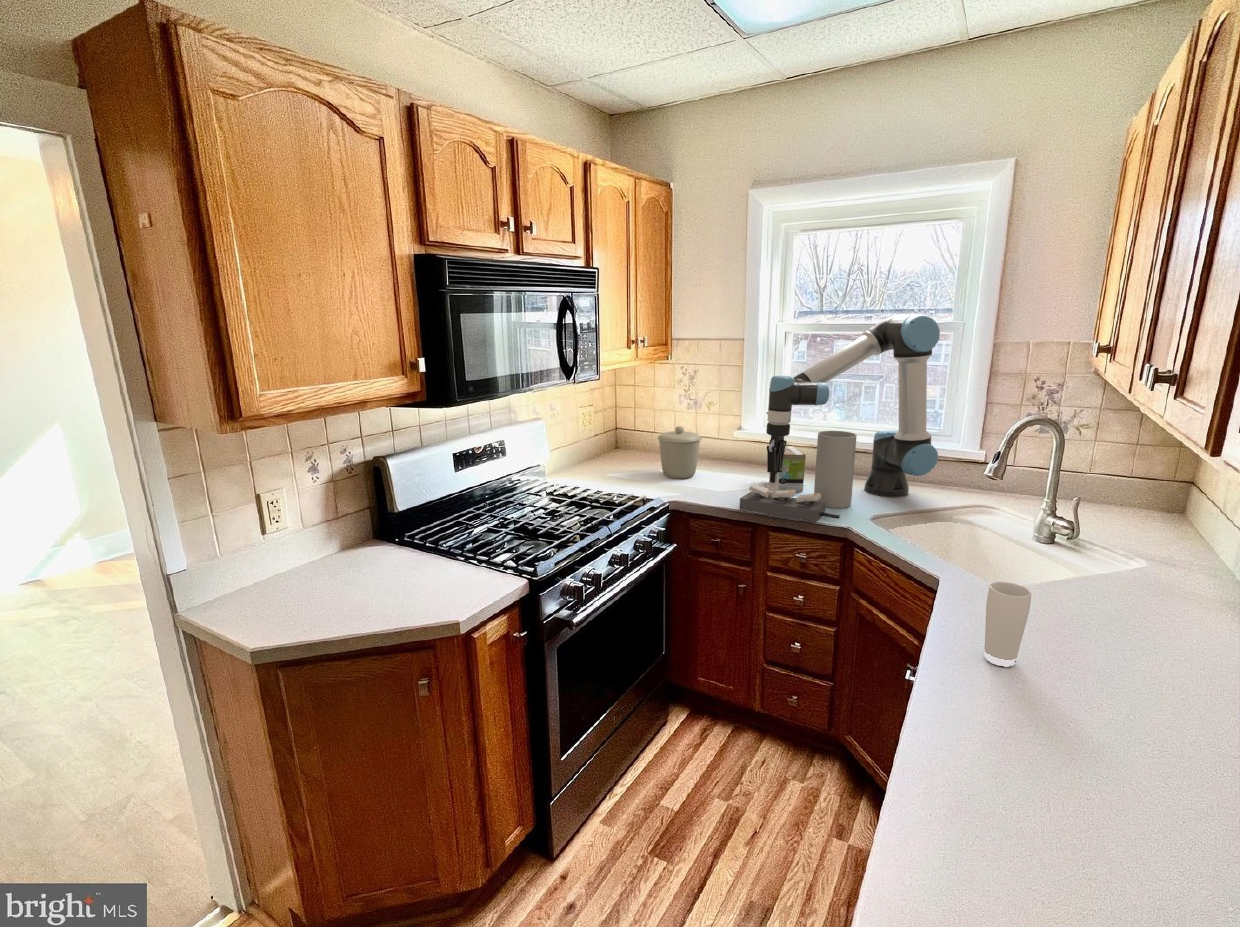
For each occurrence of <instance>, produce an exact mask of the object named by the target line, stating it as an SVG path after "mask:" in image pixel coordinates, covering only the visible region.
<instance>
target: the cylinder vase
mask: <svg viewBox="0 0 1240 927" xmlns="http://www.w3.org/2000/svg"><path fill="white" fill-rule="evenodd" d="M857 435H858V434H857V433H855V432H851V431H846V430H845V431H844V430H822V431H819V432H817V444H816V459H815V470H814V471H815V473H814V488H813V489H814V490H813V494H815V493H821V498H820V499H818V500H816V501H817V502H824V503H825V509H826V508H827V509H837V510H838V509H845V508H849V507H850V506H851V504H852V497H853V487H854V486H853V485H854V483H853V482H854V473H855V472H854V471H855V460H856V448H857V447H856V446H857Z"/></svg>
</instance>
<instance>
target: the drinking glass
mask: <svg viewBox="0 0 1240 927" xmlns="http://www.w3.org/2000/svg"><path fill="white" fill-rule="evenodd" d="M1031 601H1032V592H1031V590H1029V589H1028V588H1026V587H1024V586H1023V585H1019V584H1017V583H1014V582H1010V581H1009V582H1007V581H995V582H994V581H993V582H992V583H990V584H989V587H988V592H987V598H986V606H985V627H984V628H985V633H984V649H985V652H986V653H987V654H990V655H991V656H993V657H996V658H999V659H1004V660H1013V659H1016V658H1017V659H1018V654H1019V651H1020V650H1019V649H1020V647H1021V643H1022V640H1023V635H1024V632H1025V628H1026V625H1027V622H1028V617H1029V614H1030V608H1031V603H1032V602H1031Z"/></svg>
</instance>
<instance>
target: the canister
mask: <svg viewBox="0 0 1240 927" xmlns="http://www.w3.org/2000/svg"><path fill="white" fill-rule="evenodd" d="M656 439H657V440H659V441H658V442H659V445H658V446H659V450H660V451H659V452H660V453H659V454H660V462H661V467H662V468H661V469H662V473H663V475H664V476H665V477H667V478H669V479H677V480H682V479H683V480H684V479H690V478H692V477H694V475H695V473H696V471H697V466H698V458H699V452H700V451H699V450H700V443H701V440H702V439H703V437H702V436H700V435H699V434H698V433H696V432H691V431H686V430H685V427H683V426H682V425H677V426H676V427H675V431H674V430H673V431H666V432H663V433H661V434H660V435H658V436H657V438H656Z"/></svg>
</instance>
